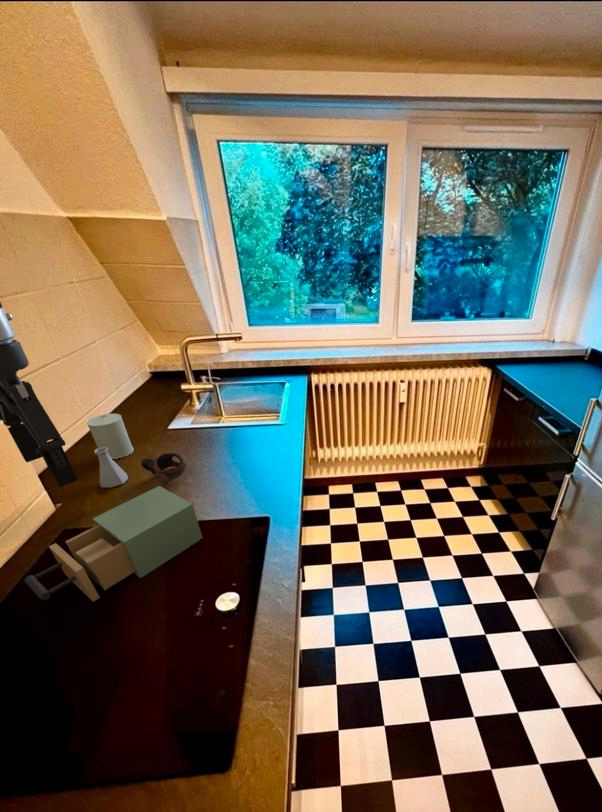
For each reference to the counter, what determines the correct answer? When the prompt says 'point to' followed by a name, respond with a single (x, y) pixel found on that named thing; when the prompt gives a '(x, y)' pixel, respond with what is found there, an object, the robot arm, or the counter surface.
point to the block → (92, 554)
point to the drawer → (105, 565)
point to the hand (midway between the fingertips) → (50, 470)
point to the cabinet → (152, 528)
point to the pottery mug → (165, 466)
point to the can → (111, 434)
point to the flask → (109, 469)
